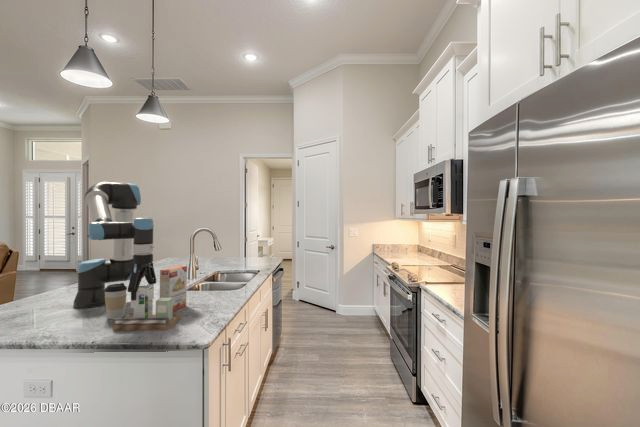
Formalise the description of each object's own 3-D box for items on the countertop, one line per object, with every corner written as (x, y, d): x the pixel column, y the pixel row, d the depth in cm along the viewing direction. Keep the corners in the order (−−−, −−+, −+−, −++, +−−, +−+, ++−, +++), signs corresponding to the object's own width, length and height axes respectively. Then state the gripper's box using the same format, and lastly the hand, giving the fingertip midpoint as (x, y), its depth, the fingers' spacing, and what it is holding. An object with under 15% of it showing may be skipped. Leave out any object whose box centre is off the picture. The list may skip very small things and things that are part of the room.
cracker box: (169, 313, 156) (170, 270, 156) (158, 313, 157) (158, 269, 157) (187, 305, 169) (187, 265, 169) (176, 305, 170) (177, 265, 170)
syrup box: (132, 322, 137) (133, 288, 137) (139, 318, 143) (139, 285, 143) (147, 322, 137) (147, 287, 137) (153, 317, 143) (153, 284, 143)
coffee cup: (110, 321, 145) (110, 287, 145) (100, 317, 149) (100, 284, 149) (130, 315, 152) (131, 283, 152) (120, 312, 157) (121, 281, 157)
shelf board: (112, 330, 133) (112, 319, 133) (131, 319, 147) (131, 309, 147) (167, 329, 134) (167, 318, 134) (180, 318, 148) (180, 308, 148)
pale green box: (155, 322, 138) (155, 300, 138) (160, 318, 143) (160, 297, 143) (167, 322, 138) (167, 300, 138) (172, 318, 143) (172, 297, 143)
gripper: (137, 257, 128) (136, 311, 128) (164, 250, 153) (164, 295, 153) (117, 257, 127) (117, 311, 127) (148, 250, 152) (147, 295, 152)
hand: (142, 303), depth 140 cm, fingers open, 13 cm apart
